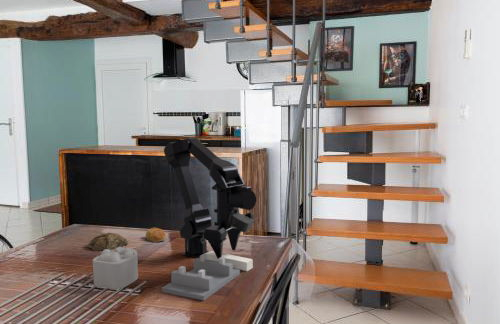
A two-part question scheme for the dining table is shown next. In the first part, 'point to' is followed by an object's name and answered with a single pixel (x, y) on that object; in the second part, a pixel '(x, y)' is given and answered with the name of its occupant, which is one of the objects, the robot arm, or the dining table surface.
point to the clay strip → (233, 260)
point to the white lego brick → (115, 268)
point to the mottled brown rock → (107, 242)
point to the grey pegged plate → (201, 278)
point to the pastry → (155, 235)
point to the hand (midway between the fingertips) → (226, 254)
